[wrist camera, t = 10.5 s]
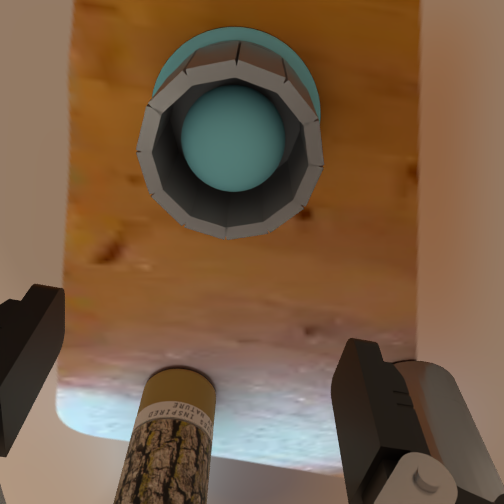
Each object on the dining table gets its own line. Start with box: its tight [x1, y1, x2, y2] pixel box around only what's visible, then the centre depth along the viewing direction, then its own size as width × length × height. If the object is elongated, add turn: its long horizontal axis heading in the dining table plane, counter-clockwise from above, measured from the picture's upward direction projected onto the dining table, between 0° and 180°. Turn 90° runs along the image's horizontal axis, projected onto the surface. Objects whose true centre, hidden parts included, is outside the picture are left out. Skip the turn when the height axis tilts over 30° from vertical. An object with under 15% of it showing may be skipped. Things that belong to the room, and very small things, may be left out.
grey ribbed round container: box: [136, 27, 324, 240], centre depth 28 cm, size 11×11×7 cm
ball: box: [181, 85, 285, 192], centre depth 28 cm, size 6×6×6 cm
